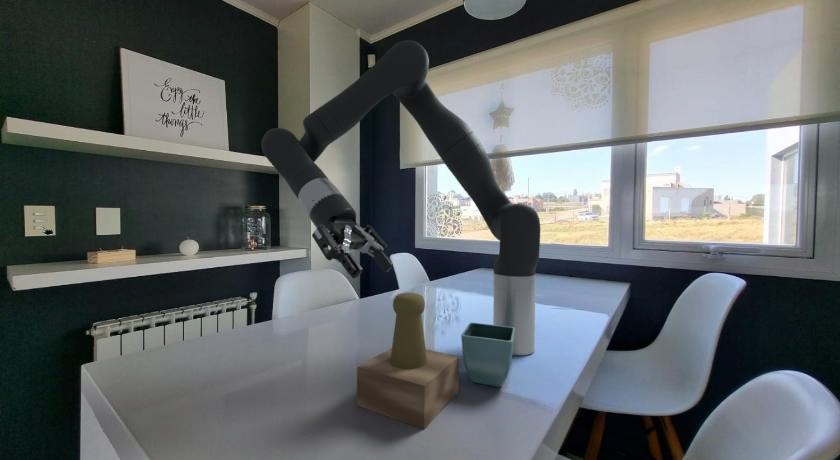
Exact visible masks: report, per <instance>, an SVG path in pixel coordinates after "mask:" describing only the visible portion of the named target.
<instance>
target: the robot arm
mask: <svg viewBox="0 0 840 460" xmlns="http://www.w3.org/2000/svg"><path fill="white" fill-rule="evenodd" d="M429 65H430V60H429V54H428V52H427V50H426V49H425V47H423V45H422V44H420V43H419V42H417V41H415V40H408V39H407V40H401V41H400V42H397V43H396V44H394V45H393V46H391V48H389V49H388V51H386V52H385V53H384V54H383V56H381V57H380V58H379V59H378V60H377V61H376V62H375V63H374V65H372V66H371V67H370V68H369V69H368V70H367V71H365V73H363V74H362V75H361V76H360V77H359V78H357V79H356V80H355V81H354V82H352V84H350V85H349V86H348V87H346V88H345V89H344V90H342V91H341V92H340V93H338V94H337V95H336V96H334V97H333V98H332V99H330V100H328V101H327V102H325V103H323V105H320V106H319V107H317V108H316V109H315V110H313V111H312V112H311V113H309V114H308V115H307V116H305V117H304V119H303V120H302V126H303V129H304V134H303V136H302V137H301V138H300V139H298V138H297V137H296V135H295V134H294V133H293V132H292V131H290V130H289V129H286V128H282V127H276V128H275V127H274V128H271V129H269V130H267V131H266V132H265V134H264V135H263V137H262V139H261V150H262V154H264V156H265V158H266V159H267V160H268V162H269V163H270V164H271V165H272V166H273V167H274V169H275V170H276V171H277V172H278V173H279V174H280V176H282V178H283V179H284V180H285V181H286V183H287V185H288V186H289V188H290V190H291V191H292V192H293V194H294V195H295V197H296V199H298V201H299V203H300V205H301V207H302V209H303V211H304V213H305V214H306V215H307V216H308V217H309V220H310V221H311V222H312V223H313V225H314V226H315V228H316V229H315V230H314V231H313V233H312V234H311V236H312V238H313V239H314V242H315V243H316V244H317V246H318V248H319V249H320V251H321V253H322V254H323V256H324V258H325V259H326V260H327V261H332V260H335V261H336V262H338V263H341V265H342V267H343V268H344V269H345V271H346V273H347V274H348V275H349V276H350V277H351V278H352V279H357V278H359V276H360V275H362V273H363V271H364V269H363V267H362V266H361V265H360V263H359V262H358V260H357V259H356V258H355V256H354V255H353V253H350V251H351V250H355V251H358V252H360V253H362V254H368V256H370V257H372V258H373V260H374V261H375V263H376V264H377V266H378V267H379V268H380V270H381V271H382V272H383V273H388V272H389V271H390V270H391V269H392V268H393V266H394V265H393V263H392V261H391V260H390V258H389V256H387V255H386V253H385V252H384V250H385V249H386V248H387V247H388V245H387V243H386V242H385V241H384V239H382V237H381V236H380V235H379V234H378V232H376V230H375V229H374V227H372V225H369V224H367V225H366V226H365V227H364V228H363V227H362V226H361V225H360V224H358V223H357V212H356V210H355V209H354V208H353V206H352V205H351V204H350V203H349V201H348V200H347V199H346V197H345V196H344V195H343V194H342V193H341V191H340V190H339V188H338V187H337V186H336V185H335V184H334V183H333V182H332V181H331V180H330V179H329V178H328V176H327V174H325V172H324V171H323V170H322V168H320V167H319V166H318V164H316V163H315V162H316V161H317V160H318V158H320V156H321V155H322V154H323V152H324V151H326V149H327V148H328V146H330V145H331V144H332V143H333V142H335V141H336V140H338V139H340V138H341V137H342V136H344V135H345V134H346V133H348V132H349V131H351V130H352V129H353V128H354V127H355V126H356V125H358V123H360V122H361V120H363V118H364V117H365V116H366V115H368V113H369V112H370V111H371V110H372V109H373V108H375V106H377V104H379V103H380V102H382V100H384V99H385V98H386V97H388V96H389V95H391V94H392V95H394V97H395V98H396V100H398V102H399V103H400V104H401V105H402V106H403V107H404V108H405V109H406V111H407V112H409V114H410V116H412V117H413V119H414V120H415V121H416V123H417V125H418V126H419V128H420V129H421V131H422V132H423V134H424V135H425V137H426V139H428V141H429V143H430V144H431V145H432V147H433V148H434V150H435V151H436V153H437V155H438V156H439V157H440V159H441V161H442V162H443V163H444V164H445V166H446V167H447V168H448V170H449V172H451V174H452V175H453V176H454V178H455V180H456V181H457V183H458V184H459V185H460V186H461V187H462V188H463V191H465V192H466V194H467V195H468V196H469V198H470V199H471V200H472V202H473V203H474V204H475V206H476V208H477V209H478V211H479V213H480V215H481V217H482V219H484V222H485V223H486V225H487V228H488V229H489V231H490V232H491V234H492V235H493V237H494V238H495V239H497V240H498V241H499V251H498V252H499V253H498V257H497V258H496V259H495V261H494V262H493V307H492V308H493V316H492V317H493V318H492V319H493V321H492V323H493V324H492V325H498V326H507V327H514V328H515V336H514V345H513V352H512V356H527V355H532V354H533V353H535V345H536V344H535V343H536V341H535V340H536V339H535V338H536V335H535V334H536V267H537V265H538V263H539V261H540V260H539V259H540V248H541V222H540V221H541V220H540V217H539V214H538V212H537V211H536V210H535V208H534V207H532V206H531V205H529V204H526V203H513V202H512V201H511V200H510V199H509V197H508V196H507V195H506V194H505V192H504V191H503V190H502V188H501V186H500V184H499V183H498V181H497V179H496V176H495V174H494V170H493V168H492V164H491V161H490V158H489V156H488V152H487V151H486V148H485V147H484V145H483V144H482V143H481V141H480V139H479V138H478V137H477V135H476V134H475V132H474V131H473V130H472V128H471V127H470V126H469V124H467V122H465V120H463V119H462V118H461V117H459V116H458V115H457V114H455V113H454V112H453V111H452V110H449V108H447V107H446V106H445V105H443V103H442V102H441V101H440V99H439V98H438V97H437V96H436V94H435V92H434V91H433V89H432V88H431V86H430V84H429V82H428V81H427V75H428V71H429V68H430V66H429ZM365 242H366V243H365ZM364 243H365V244H364ZM329 248H330V249H329Z"/></svg>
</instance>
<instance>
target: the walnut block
mask: <svg viewBox="0 0 840 460" xmlns="http://www.w3.org/2000/svg"><path fill="white" fill-rule="evenodd" d="M391 351H392V347H390V348H389V349H387V350H385V351H383V352H382V353H379V354H378V355H376V356H374V357H373V358H370V359H369V360H368V361H365V362H363V363H362V364H360V365H358V366H357V367H356V406H357V407H361V408H362V409H366V410H369V411H371V412H375V413H376V414H380V415H383V416H386V417H389V418H392V419H394V420H397V421H400V422H402V423H405V424H408V425H411V426H414V427H416V428H420V429H423V430H426V429H427V427H428V426H429V424H431V423H432V422H433V421H434V419H435V418H436V417H437V416H438V415H439V414H440V413H441V412H442V411H443V410H444V409H445V408H446V406H448V404H449V403H450V402H451V401H452V400H453V399H454V398H455V397H456V395H457V394H458V393H459V391H460V390H459V389H460V384H459V382H460V356H459V355H454V354H449V353H445V352H440V351H436V350H432V349H431V350H430V349H427V348H426V355H427V363H426V364H425V365H424V366H422V367H420V368H416V369H402V368H397V367H394V366H393V365H391V363H390V359H391Z"/></svg>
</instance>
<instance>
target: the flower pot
mask: <svg viewBox="0 0 840 460" xmlns="http://www.w3.org/2000/svg"><path fill="white" fill-rule="evenodd" d="M460 336H461V347H462V349H461V350H462V357H463V363H464V364H463V365H464V367H465V370H466V373H467V375H468V377H469V378H470V380H471V381H472V382H473V383H474V384H481V385H487V386H493V387H497V388H501V387H502V386H503V385H504V383H505V381H506V379H507V378H508V374H509V372H510V369H511V368H510V367H511V363H512V357H513V355H512V352H513V345H514V336H515V328H514V327H507V326H498V325H493V324H488V323H487V324H486V323H479V322H470V323H468V325H467V326H466V328H465V329H464V330H463V332H462V333H461V335H460Z"/></svg>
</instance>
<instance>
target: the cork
mask: <svg viewBox="0 0 840 460" xmlns="http://www.w3.org/2000/svg"><path fill="white" fill-rule="evenodd" d="M392 308H393V311H394V313H395V314H396V316H395V322H394V323H395V324H394V331H393V338H392V345H391V348H392V351H391V359H390V363H391V365H393V366H394V367H397V368H402V369H416V368H420V367H422V366H424V365H425V364H426V363H427V355H426V349H427V347H426V341H425V332H424V324H423V316H422V315H423V313H424V311H425V308H426V302H425V297H423V295H422V294H421V293H415V292H404V293H403V292H402V293H398V294H396V296H395V297H394V298H393V302H392Z"/></svg>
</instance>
